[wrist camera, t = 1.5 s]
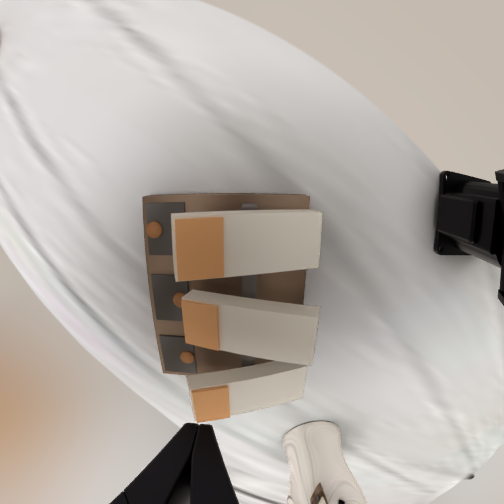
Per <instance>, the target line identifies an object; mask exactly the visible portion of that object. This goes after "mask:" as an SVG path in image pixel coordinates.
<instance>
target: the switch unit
mask: <svg viewBox="0 0 504 504" xmlns="http://www.w3.org/2000/svg"><path fill="white" fill-rule="evenodd" d="M309 202H310V196H307V195H298V194H257V193H210V194H169V195H149V196H144V197H143V221H144V238H145V251H146V262H147V272H148V281H149V290H150V298H151V305H152V312H153V319H154V326H155V332H156V338H157V343H158V349H159V354H160V360H161V365H162V370H163V373H168V374H178V375H195V374H203V373H210V372H217V371H223V370H230V369H236V368H241V367H247V366H252V365H257V364H262V363H267V362H272V361H274V360H268V359H263V358H257V357H252V356H247V355H241V354H236V353H232V352H227V351H222V350H219V351H217V350H212V349H208V348H204V347H200V346H196V345H192V344H188V343H186V342H185V334H184V325H183V315H182V305H181V301H182V297H183V296H184V295H186V294H187V293H188V292H190V291H191V290H192V289H193V290H199V291H206V292H212V293H218V294H225V295H232V296H239V297H246V298H253V299H260V300H268V301H275V302H283V303H292V304H300V305H303V300H304V288H305V275H306V269H302V270H293V271H284V272H274V273H265V274H255V275H245V276H234V277H224V278H213V279H202V280H191V281H179V282H176V280H175V274H174V263H173V247H172V227H171V213H189V212H211V211H239V210H292V209H309Z"/></svg>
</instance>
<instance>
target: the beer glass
mask: <svg viewBox="0 0 504 504" xmlns="http://www.w3.org/2000/svg"><path fill="white" fill-rule="evenodd" d="M282 445H283V448H284V451H285V454H286V456H287V459H288V462H289V468H290V479H289V489H288V497H287V504H368V503H367V500H366V498H365V496H364V494H363V492H362V490H361V488H360V486H359V484H358V483H357V481H356V479H355V477H354V476H353V474H352V472H351V471H350V469H349V467H348V465H347V463H346V461H345V459H344V456H343V453H342V448H341V434H340V429H339V428H338V426H337V425H335V424H333V423H331V422H326V421H315V422H309V423H305V424H302V425H299V426H297V427H295V428H293V429H292V430H290V431H289V432H288V433H287V434H286V435H285V436H284V438H283V441H282Z"/></svg>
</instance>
